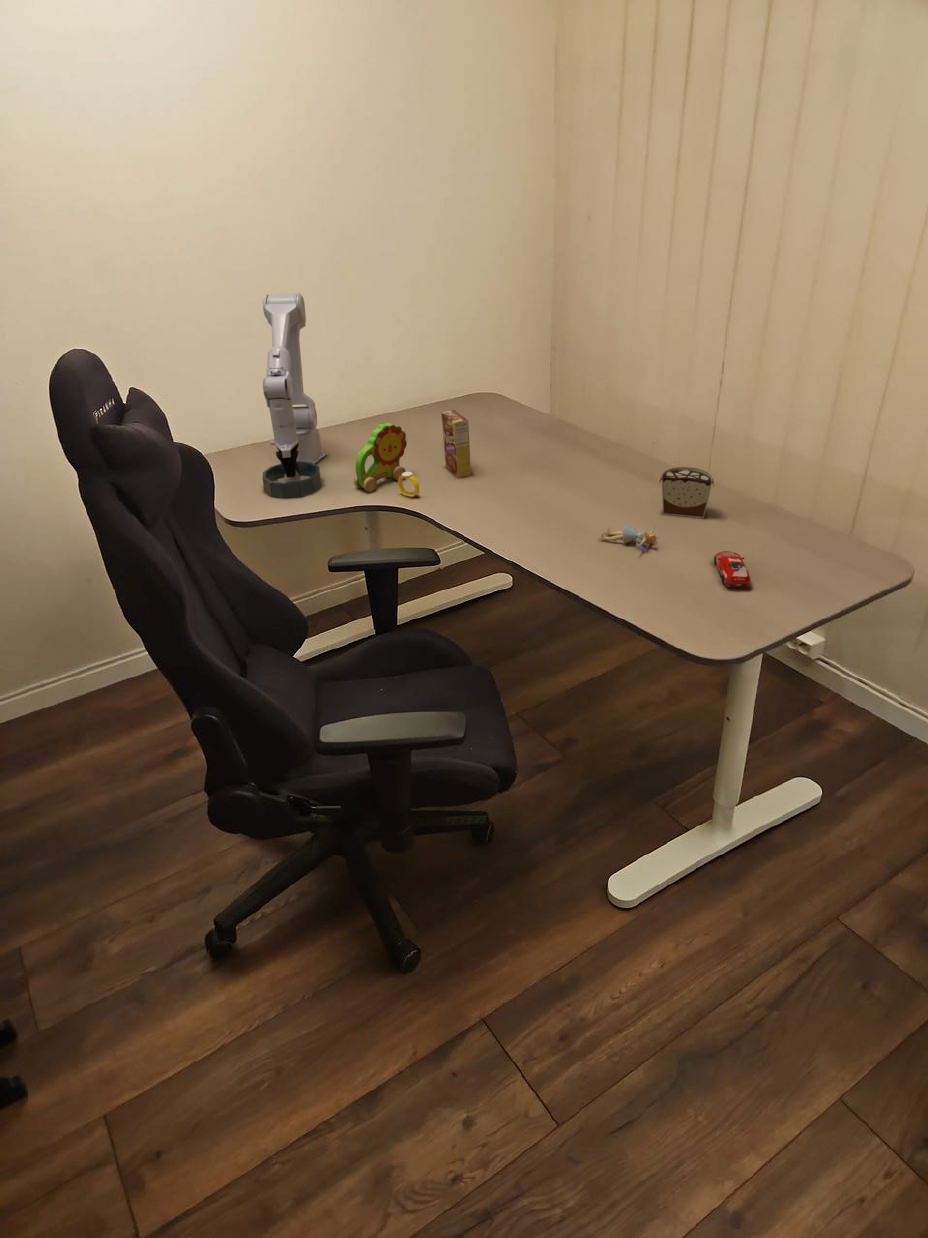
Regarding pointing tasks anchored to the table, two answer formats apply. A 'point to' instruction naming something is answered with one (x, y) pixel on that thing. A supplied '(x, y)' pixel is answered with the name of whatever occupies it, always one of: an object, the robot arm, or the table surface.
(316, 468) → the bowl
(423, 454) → the table surface
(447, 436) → the candy box
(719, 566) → the race car
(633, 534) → the fairy figurine
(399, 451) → the toy lion
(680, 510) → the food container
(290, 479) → the rook chess piece
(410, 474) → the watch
